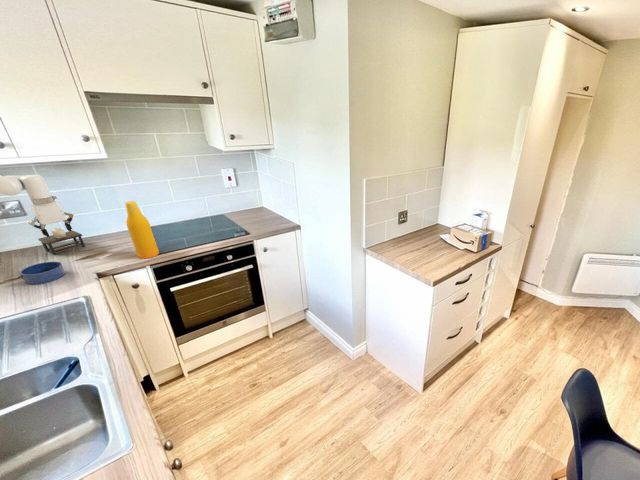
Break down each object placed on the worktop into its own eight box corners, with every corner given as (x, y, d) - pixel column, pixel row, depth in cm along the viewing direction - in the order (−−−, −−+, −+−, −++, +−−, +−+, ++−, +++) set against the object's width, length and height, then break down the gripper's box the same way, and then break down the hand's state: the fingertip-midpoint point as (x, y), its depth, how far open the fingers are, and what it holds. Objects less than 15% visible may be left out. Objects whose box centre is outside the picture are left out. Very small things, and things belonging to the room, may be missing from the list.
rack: (54, 259, 164) (46, 243, 160) (46, 254, 168) (37, 238, 164) (88, 249, 175) (81, 234, 171) (79, 245, 179) (72, 230, 175)
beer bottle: (134, 258, 168) (113, 204, 154) (146, 251, 176) (127, 199, 163) (152, 259, 168) (133, 205, 155) (163, 251, 177) (146, 200, 163)
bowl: (32, 287, 140) (26, 277, 138) (20, 279, 145) (14, 270, 143) (71, 275, 151) (66, 265, 148) (58, 268, 156) (53, 259, 154)
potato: (57, 239, 164) (54, 231, 162) (51, 236, 167) (47, 228, 165) (68, 236, 167) (65, 228, 165) (62, 233, 170) (58, 225, 168)
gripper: (62, 195, 167) (76, 227, 175) (14, 203, 153) (32, 237, 161) (69, 198, 164) (83, 229, 172) (21, 206, 150) (39, 240, 158)
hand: (58, 233), depth 166 cm, fingers open, 8 cm apart
